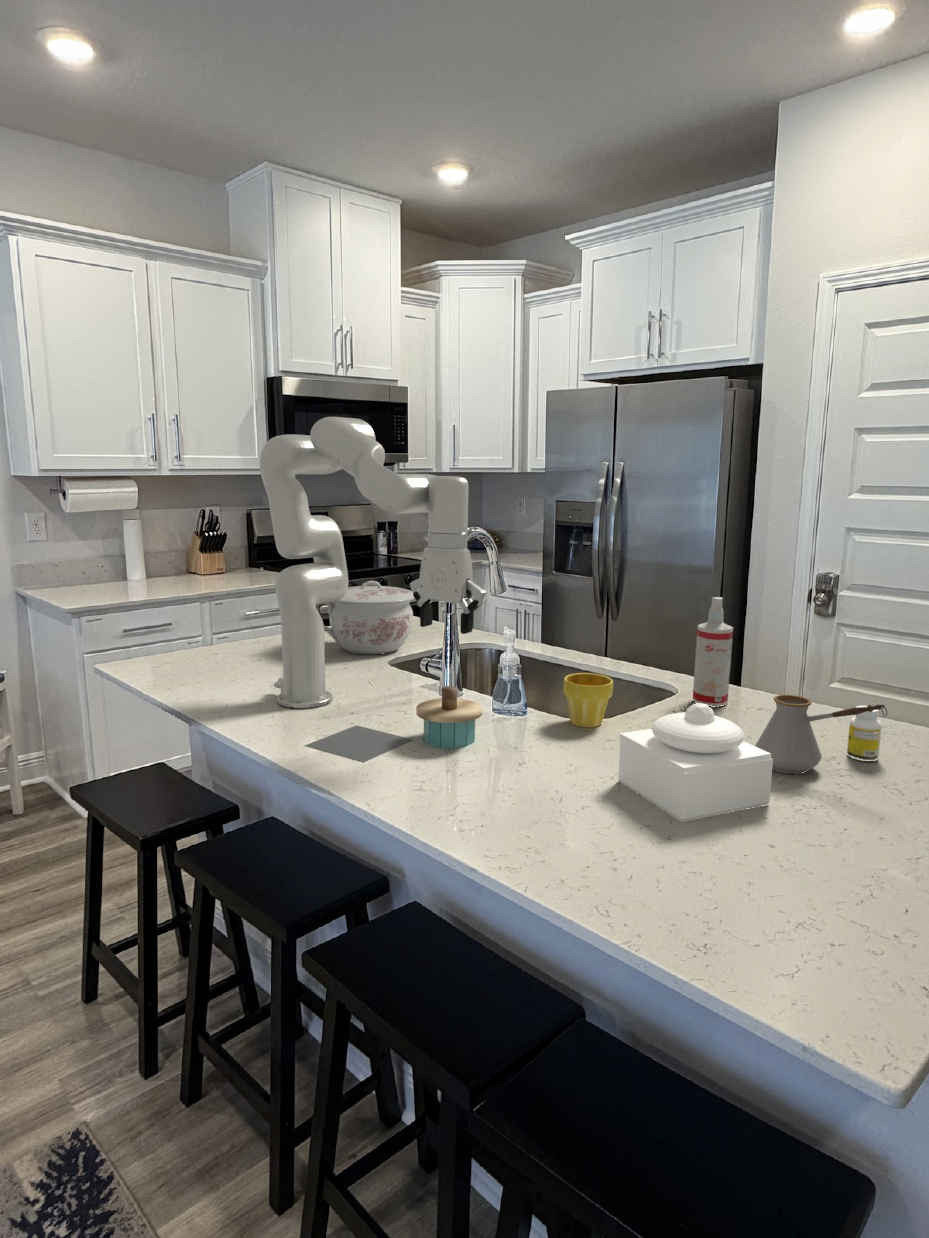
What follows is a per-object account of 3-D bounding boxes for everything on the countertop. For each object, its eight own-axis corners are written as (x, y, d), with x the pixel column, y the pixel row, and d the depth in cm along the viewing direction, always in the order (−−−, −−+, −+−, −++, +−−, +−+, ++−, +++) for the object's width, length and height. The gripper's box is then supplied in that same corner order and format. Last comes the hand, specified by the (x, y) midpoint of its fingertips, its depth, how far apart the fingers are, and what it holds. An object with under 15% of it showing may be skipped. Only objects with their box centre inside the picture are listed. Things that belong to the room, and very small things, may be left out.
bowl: (414, 743, 156) (414, 714, 155) (443, 730, 164) (443, 702, 163) (455, 754, 151) (456, 724, 150) (484, 739, 159) (484, 711, 158)
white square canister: (681, 823, 123) (688, 725, 120) (616, 781, 139) (621, 694, 136) (769, 806, 130) (777, 712, 127) (697, 767, 146) (703, 684, 143)
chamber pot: (433, 645, 242) (434, 578, 238) (389, 665, 218) (388, 590, 214) (355, 636, 253) (354, 572, 249) (304, 654, 229) (302, 583, 225)
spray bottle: (714, 696, 191) (721, 594, 186) (733, 705, 184) (742, 599, 179) (686, 699, 188) (693, 595, 184) (705, 708, 181) (712, 600, 177)
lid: (402, 715, 155) (402, 690, 154) (441, 699, 165) (441, 676, 164) (458, 727, 148) (458, 701, 147) (494, 710, 158) (495, 686, 157)
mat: (304, 748, 153) (304, 745, 153) (356, 727, 165) (356, 725, 165) (363, 765, 145) (363, 762, 144) (413, 742, 157) (413, 739, 157)
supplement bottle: (852, 750, 155) (857, 702, 153) (882, 757, 152) (887, 708, 150) (842, 757, 152) (847, 708, 150) (872, 765, 148) (877, 714, 146)
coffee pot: (743, 767, 146) (750, 688, 143) (766, 751, 155) (773, 676, 152) (869, 799, 132) (879, 713, 129) (886, 779, 141) (896, 698, 138)
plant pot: (610, 732, 164) (612, 686, 162) (560, 728, 166) (562, 683, 164) (611, 717, 174) (613, 674, 172) (564, 713, 176) (565, 671, 174)
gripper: (400, 539, 153) (399, 626, 157) (474, 546, 144) (471, 638, 147) (423, 537, 159) (422, 620, 163) (496, 543, 150) (493, 632, 153)
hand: (446, 629), depth 155 cm, fingers open, 9 cm apart
